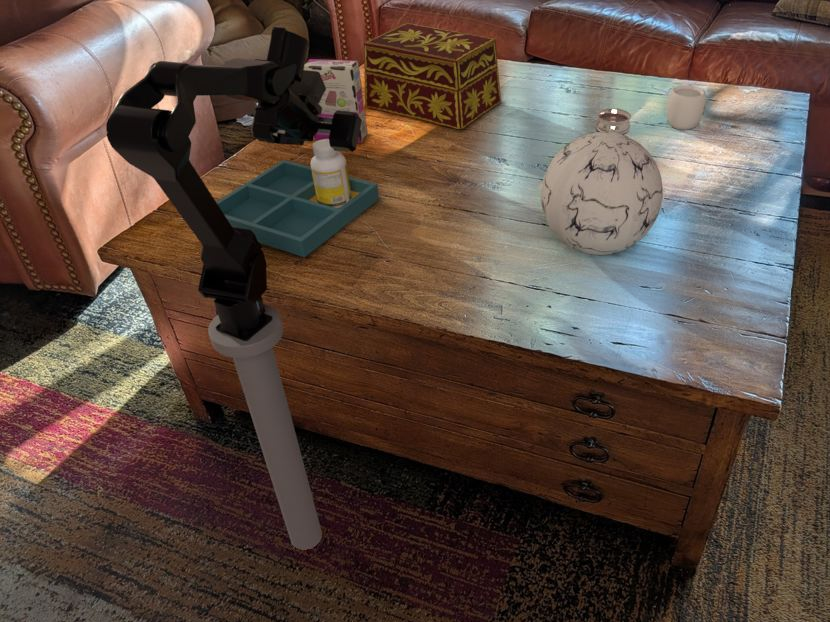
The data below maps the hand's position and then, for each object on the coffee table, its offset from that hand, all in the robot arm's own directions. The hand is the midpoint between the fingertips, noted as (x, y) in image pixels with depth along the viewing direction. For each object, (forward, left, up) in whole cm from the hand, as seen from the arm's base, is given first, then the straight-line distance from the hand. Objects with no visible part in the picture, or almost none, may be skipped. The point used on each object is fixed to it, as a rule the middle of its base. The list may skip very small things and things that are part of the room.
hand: (326, 145), depth 131 cm
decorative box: (+50, +9, -13) cm, 53 cm away
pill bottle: (0, 0, -12) cm, 12 cm away
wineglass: (+36, -41, -13) cm, 57 cm away
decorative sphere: (+9, -49, -13) cm, 52 cm away
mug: (+67, -48, -13) cm, 84 cm away
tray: (-6, +6, -12) cm, 15 cm away
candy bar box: (+25, +18, -13) cm, 33 cm away
